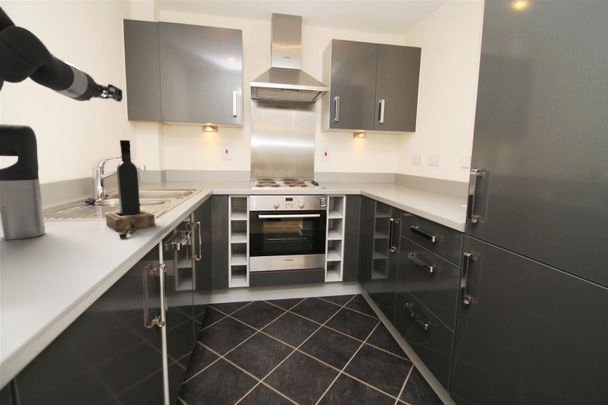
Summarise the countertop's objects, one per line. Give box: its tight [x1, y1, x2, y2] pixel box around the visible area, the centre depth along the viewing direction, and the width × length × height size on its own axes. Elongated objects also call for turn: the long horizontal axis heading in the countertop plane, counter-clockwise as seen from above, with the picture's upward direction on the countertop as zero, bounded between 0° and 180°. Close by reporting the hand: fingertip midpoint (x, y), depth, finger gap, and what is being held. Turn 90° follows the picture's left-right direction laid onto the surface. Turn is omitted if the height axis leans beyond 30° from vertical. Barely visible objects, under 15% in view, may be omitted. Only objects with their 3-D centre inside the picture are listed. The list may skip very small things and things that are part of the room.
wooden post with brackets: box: [118, 220, 137, 239], centre depth 92 cm, size 2×8×4 cm, turn 5°
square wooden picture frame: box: [105, 209, 156, 233], centre depth 104 cm, size 12×12×5 cm
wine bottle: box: [116, 139, 141, 216], centre depth 102 cm, size 6×6×30 cm
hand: (104, 97), depth 87 cm, fingers open, 8 cm apart
